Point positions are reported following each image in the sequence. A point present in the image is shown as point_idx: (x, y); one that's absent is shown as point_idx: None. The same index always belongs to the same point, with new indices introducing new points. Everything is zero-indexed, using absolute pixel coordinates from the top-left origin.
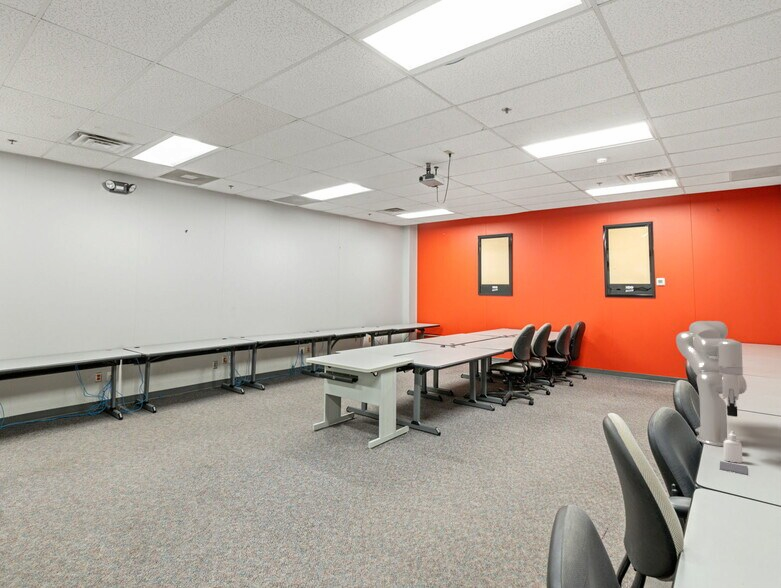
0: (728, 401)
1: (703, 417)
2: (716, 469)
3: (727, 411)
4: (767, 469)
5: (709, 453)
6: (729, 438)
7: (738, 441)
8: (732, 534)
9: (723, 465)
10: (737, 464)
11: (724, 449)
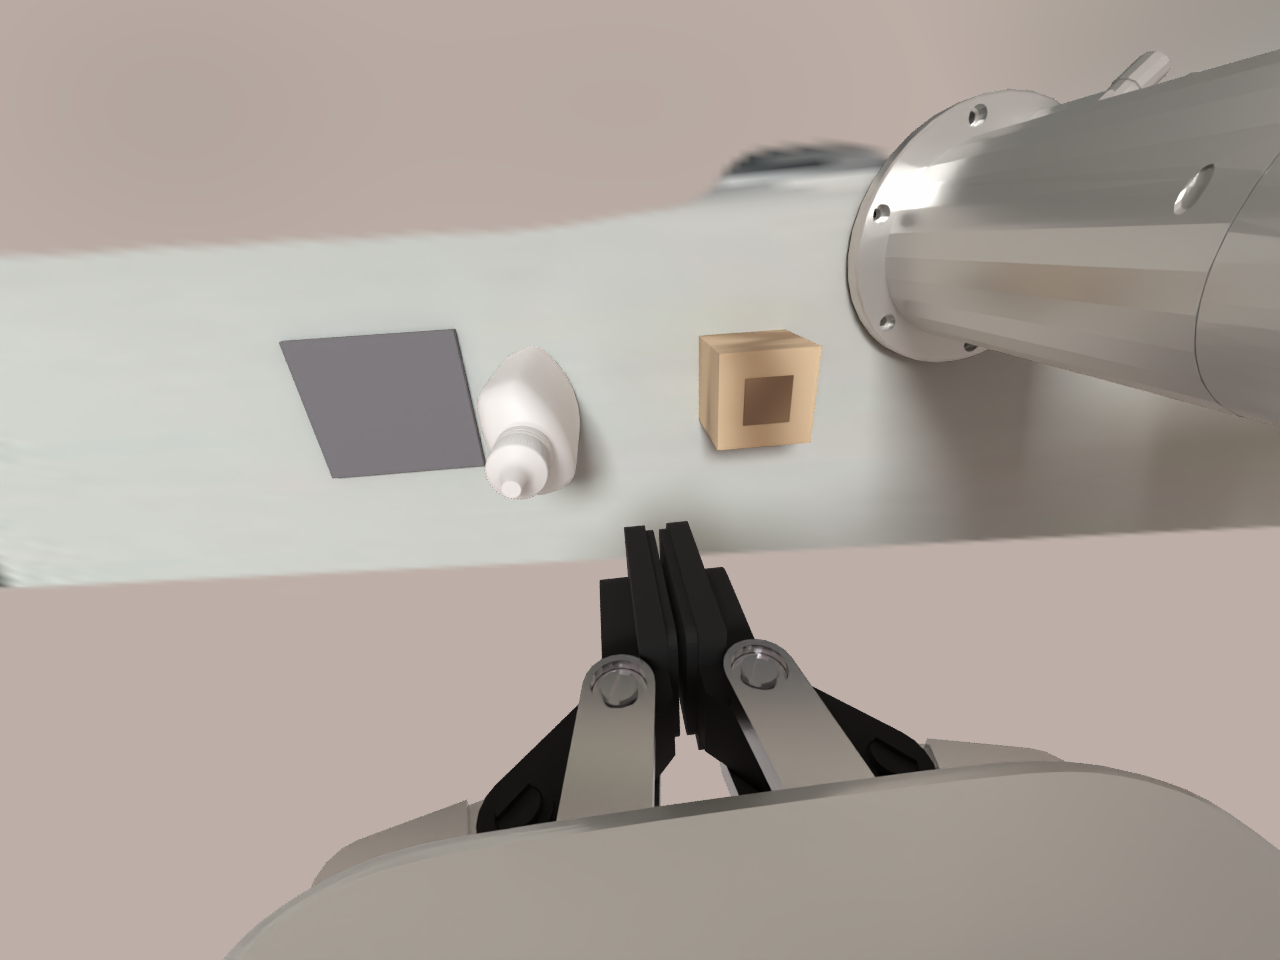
0: (569, 792)
1: (1138, 119)
2: (266, 323)
3: (631, 566)
4: (535, 539)
5: (617, 242)
6: (497, 438)
7: (781, 436)
8: None
9: (371, 357)
10: (473, 423)
11: (501, 370)
